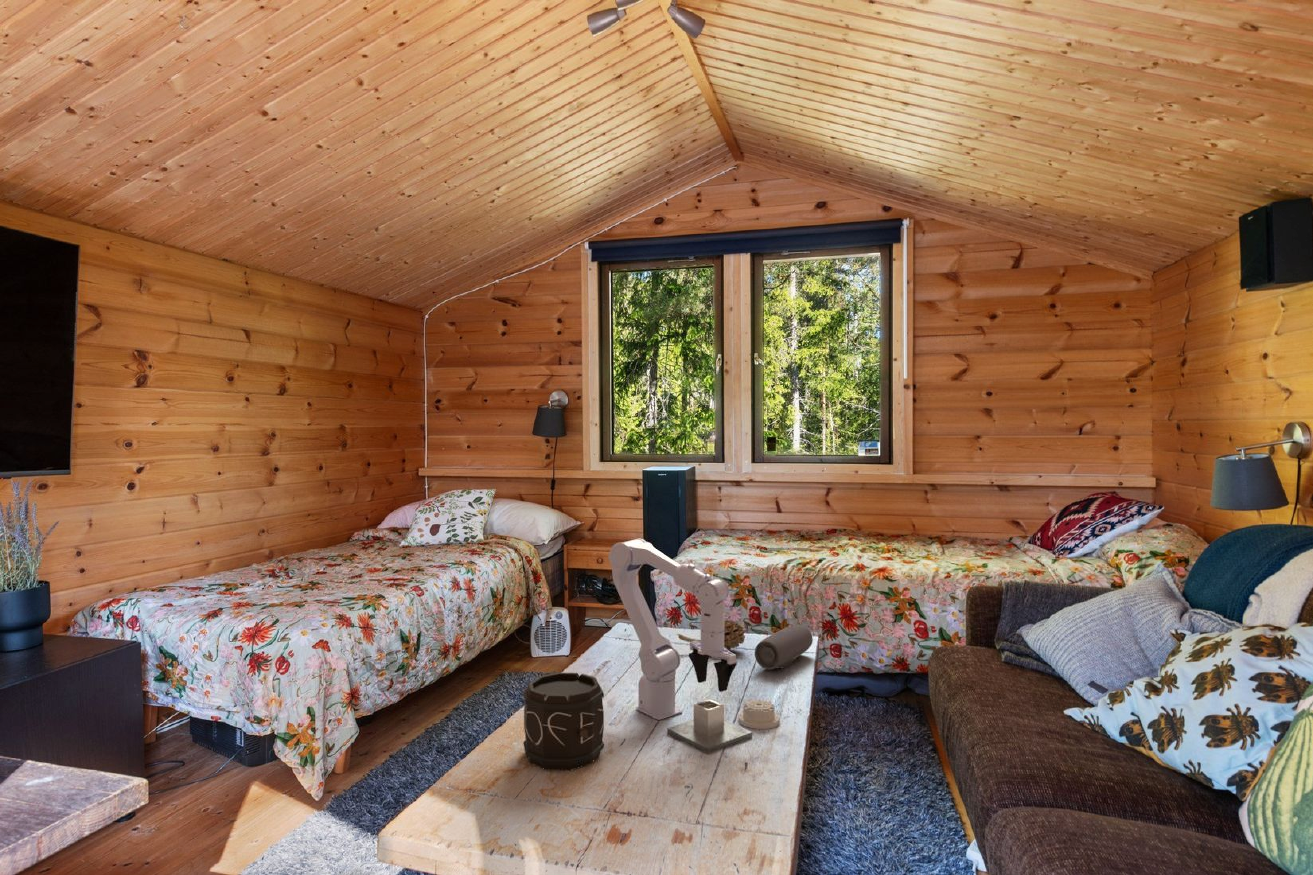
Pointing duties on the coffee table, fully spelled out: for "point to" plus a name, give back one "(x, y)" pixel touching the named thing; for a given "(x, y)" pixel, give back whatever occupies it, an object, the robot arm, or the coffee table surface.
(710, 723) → the collar
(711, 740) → the post plate
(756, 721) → the mechanical component
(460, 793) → the coffee table surface
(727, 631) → the pine cone
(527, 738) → the wooden barrel
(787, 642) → the bluetooth speaker
